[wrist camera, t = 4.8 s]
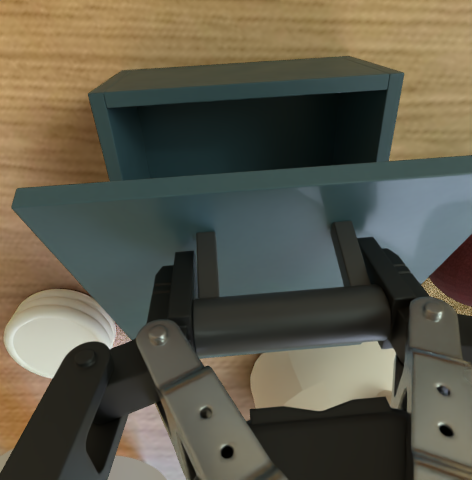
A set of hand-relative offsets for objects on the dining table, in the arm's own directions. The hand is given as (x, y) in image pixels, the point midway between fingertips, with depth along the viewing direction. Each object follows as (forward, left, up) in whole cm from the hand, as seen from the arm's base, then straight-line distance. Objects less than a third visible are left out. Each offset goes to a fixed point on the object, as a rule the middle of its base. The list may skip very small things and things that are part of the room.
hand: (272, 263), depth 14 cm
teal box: (+5, 0, -18) cm, 18 cm away
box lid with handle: (+5, 0, -4) cm, 7 cm away
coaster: (+19, -19, -18) cm, 32 cm away
